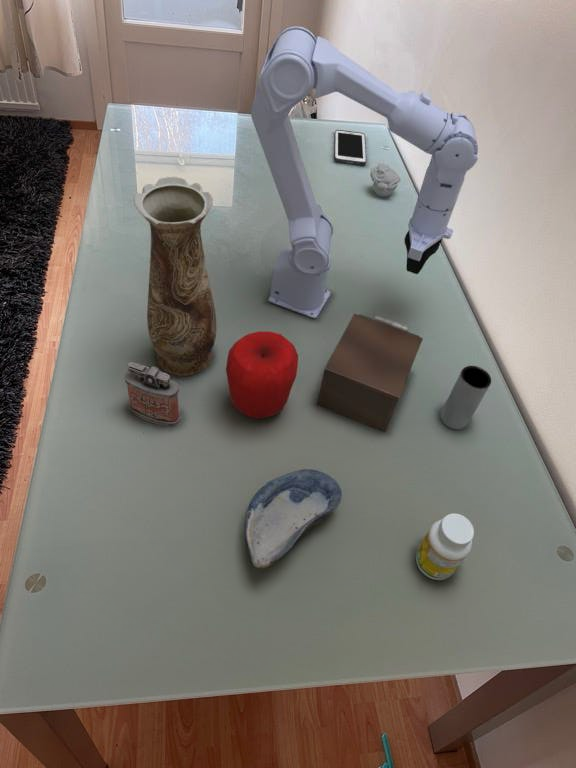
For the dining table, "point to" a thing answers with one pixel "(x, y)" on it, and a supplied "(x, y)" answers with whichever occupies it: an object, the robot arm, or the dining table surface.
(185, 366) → the vase
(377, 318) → the drawer
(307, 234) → the robot arm
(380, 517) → the dining table surface
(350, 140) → the cell phone
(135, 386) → the lighter
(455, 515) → the supplement bottle
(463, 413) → the gray cylindrical tube
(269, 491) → the seashell
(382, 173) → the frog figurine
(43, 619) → the dining table surface
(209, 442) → the dining table surface
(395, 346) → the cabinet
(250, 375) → the apple
